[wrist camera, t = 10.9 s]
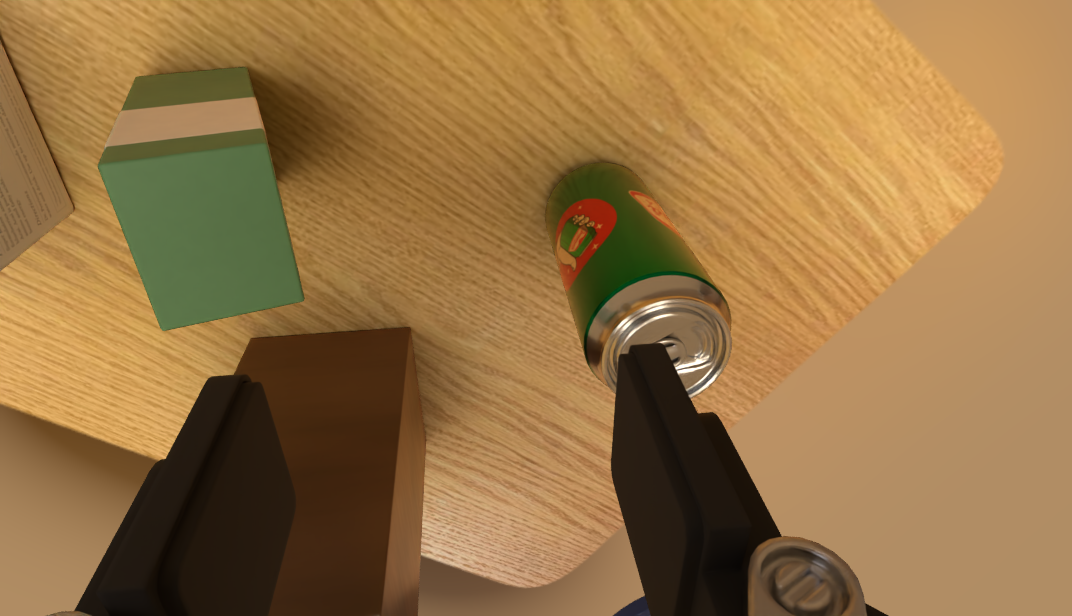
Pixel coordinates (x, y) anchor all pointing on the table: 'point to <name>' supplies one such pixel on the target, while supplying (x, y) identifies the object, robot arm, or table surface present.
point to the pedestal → (347, 469)
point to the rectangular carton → (24, 173)
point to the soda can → (634, 277)
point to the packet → (200, 198)
